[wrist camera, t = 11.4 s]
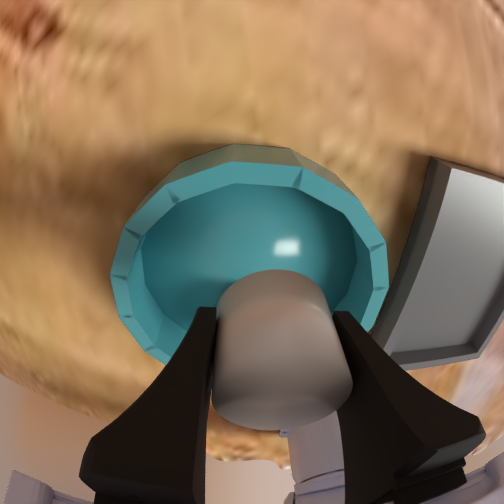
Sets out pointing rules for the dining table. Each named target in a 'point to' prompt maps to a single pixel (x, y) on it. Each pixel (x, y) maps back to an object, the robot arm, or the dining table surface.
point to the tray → (448, 272)
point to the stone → (277, 353)
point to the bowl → (242, 240)
